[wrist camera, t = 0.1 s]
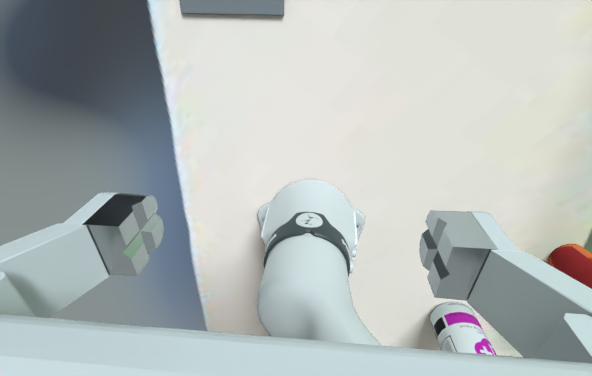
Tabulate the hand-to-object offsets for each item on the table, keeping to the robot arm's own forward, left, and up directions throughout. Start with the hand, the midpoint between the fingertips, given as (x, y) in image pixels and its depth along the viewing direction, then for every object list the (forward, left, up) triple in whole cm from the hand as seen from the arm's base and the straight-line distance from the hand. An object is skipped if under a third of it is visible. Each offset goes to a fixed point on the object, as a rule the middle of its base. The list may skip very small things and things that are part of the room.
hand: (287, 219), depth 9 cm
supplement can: (-44, -29, -39) cm, 66 cm away
